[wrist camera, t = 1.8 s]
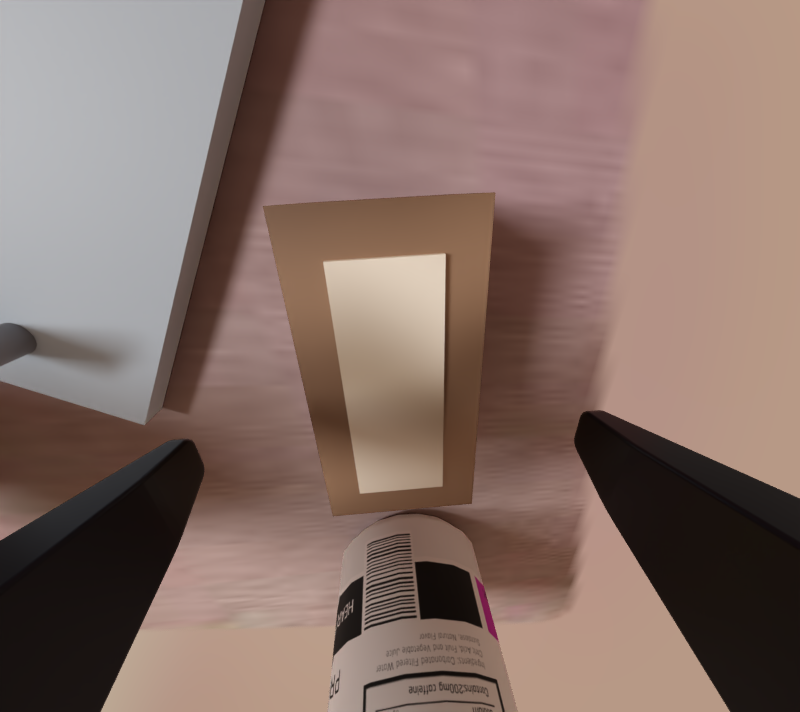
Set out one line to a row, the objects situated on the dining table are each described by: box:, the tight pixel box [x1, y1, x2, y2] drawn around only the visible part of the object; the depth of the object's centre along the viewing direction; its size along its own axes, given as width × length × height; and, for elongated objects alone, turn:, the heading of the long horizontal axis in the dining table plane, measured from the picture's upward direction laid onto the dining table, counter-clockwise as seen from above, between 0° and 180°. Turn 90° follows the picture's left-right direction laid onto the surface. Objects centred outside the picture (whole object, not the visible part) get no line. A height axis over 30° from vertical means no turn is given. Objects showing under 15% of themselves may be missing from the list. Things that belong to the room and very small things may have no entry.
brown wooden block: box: [263, 193, 495, 516], centre depth 11 cm, size 10×5×5 cm, turn 3°
